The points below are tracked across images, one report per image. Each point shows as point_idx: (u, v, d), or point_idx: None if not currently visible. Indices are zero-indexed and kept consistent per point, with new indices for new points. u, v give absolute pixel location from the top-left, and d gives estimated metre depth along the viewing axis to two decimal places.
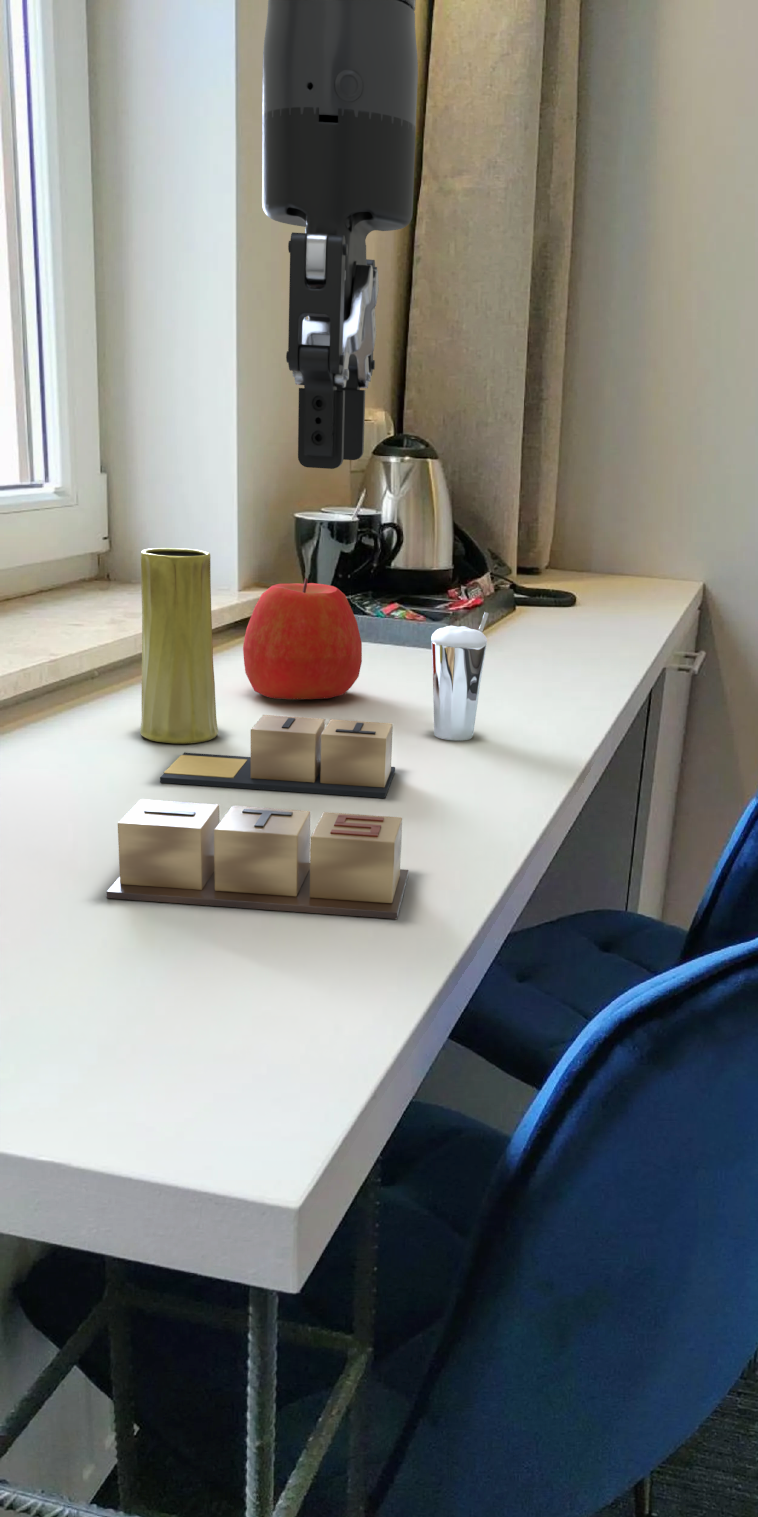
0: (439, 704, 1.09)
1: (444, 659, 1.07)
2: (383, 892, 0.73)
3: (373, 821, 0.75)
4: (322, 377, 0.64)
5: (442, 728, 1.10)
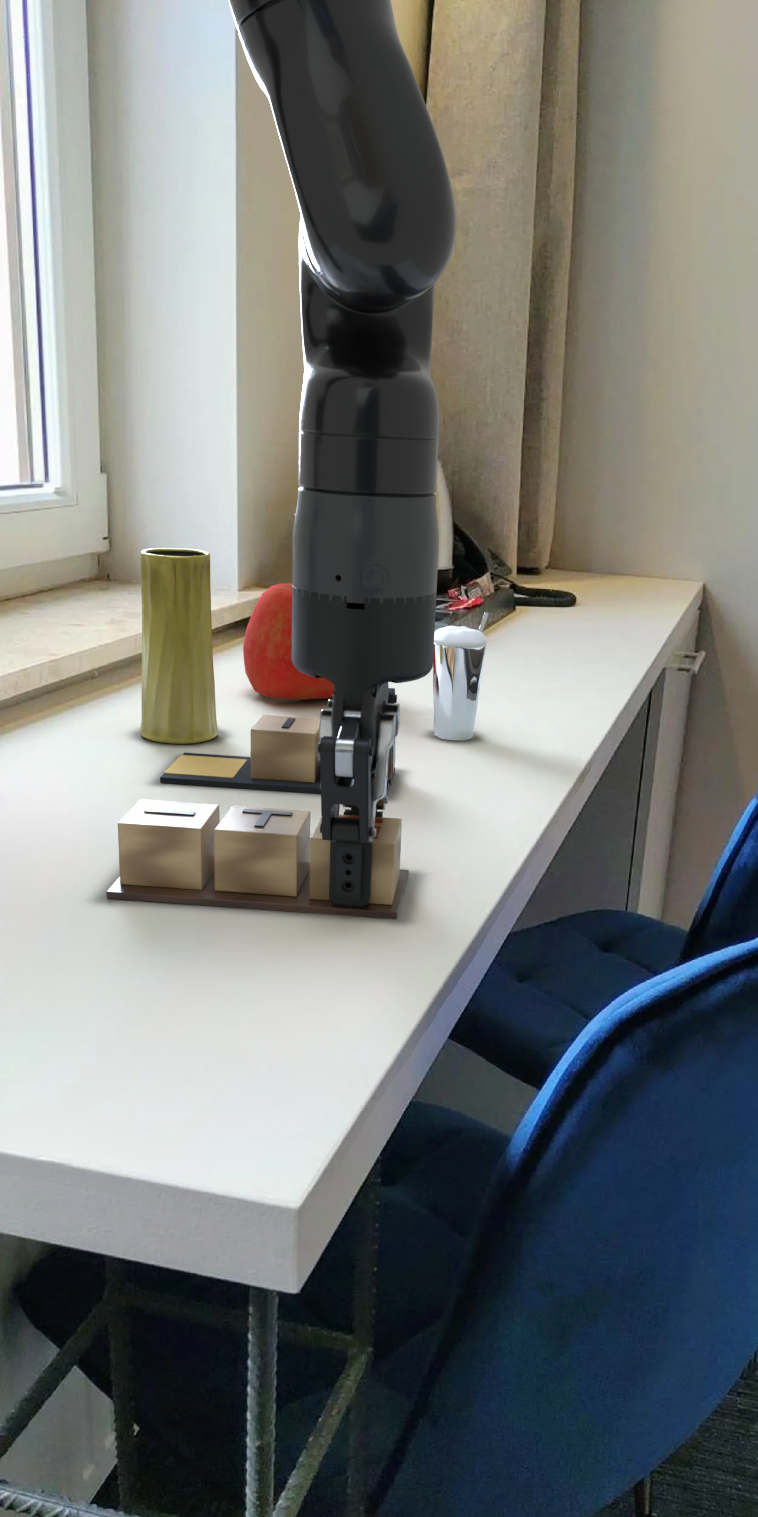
0: (439, 704, 1.09)
1: (444, 659, 1.07)
2: (383, 893, 0.73)
3: None
4: (352, 841, 0.70)
5: (442, 728, 1.10)
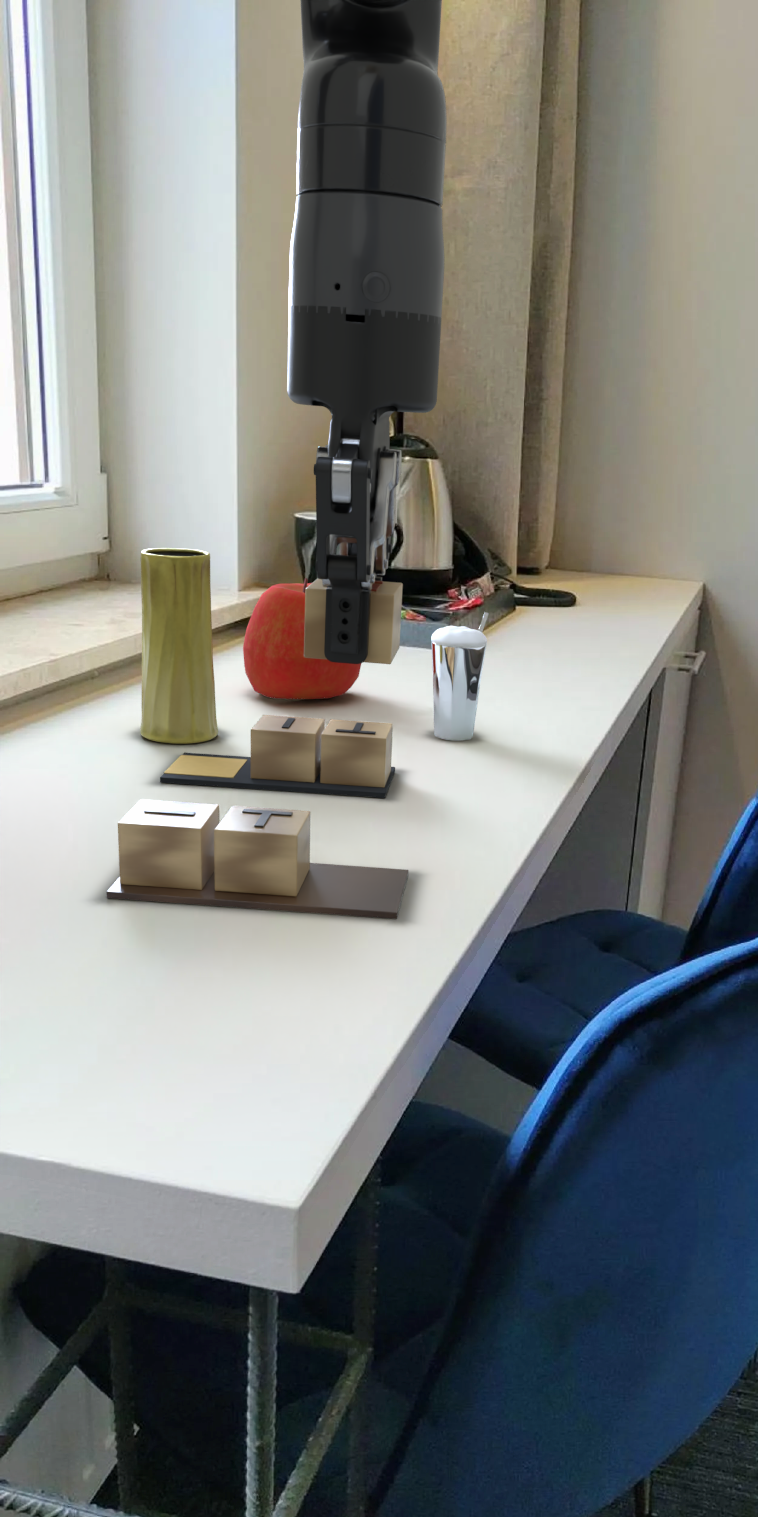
0: (439, 704, 1.09)
1: (444, 659, 1.07)
2: (381, 651, 0.69)
3: None
4: (349, 583, 0.66)
5: (442, 728, 1.10)
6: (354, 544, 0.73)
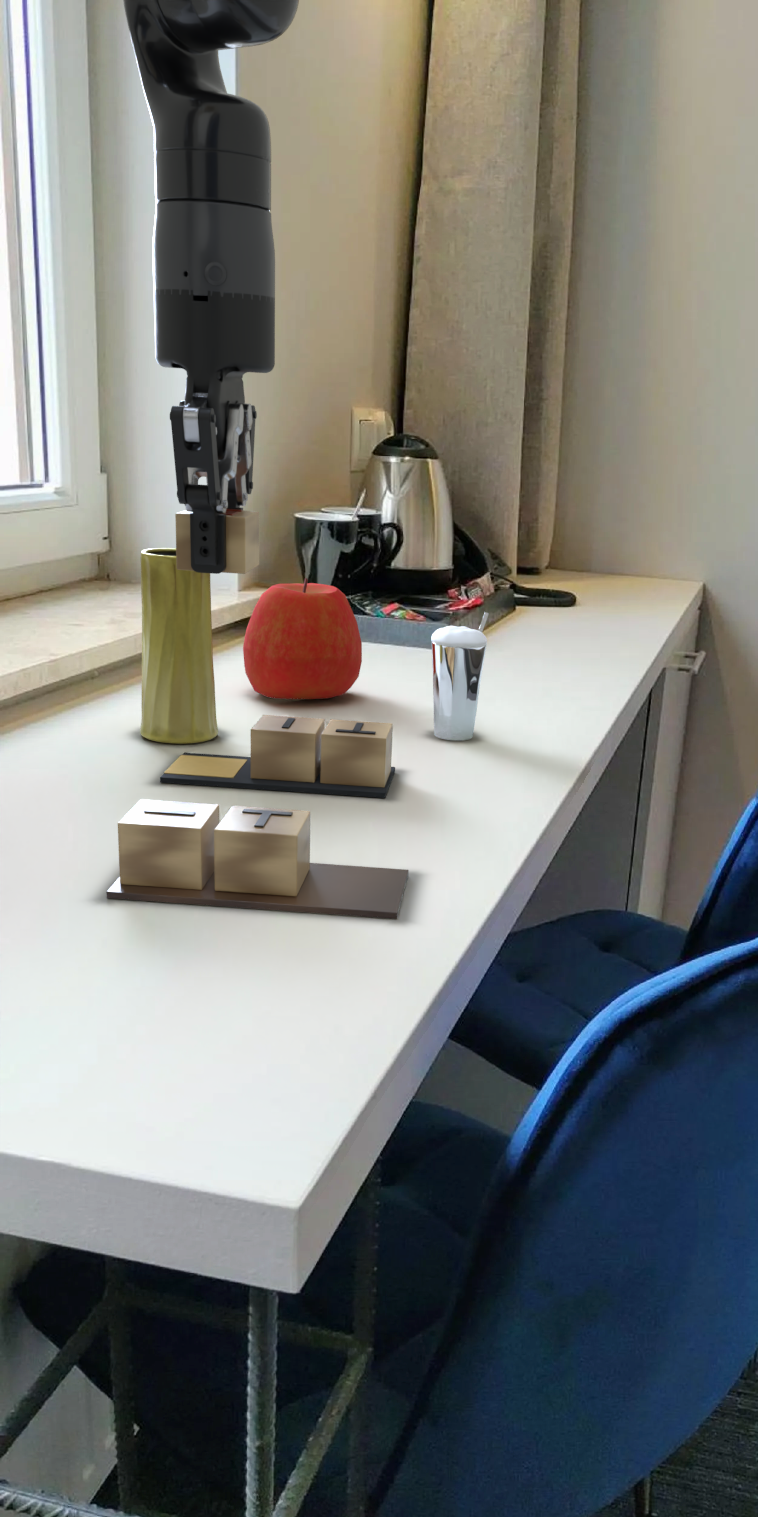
0: (439, 704, 1.09)
1: (444, 659, 1.07)
2: (237, 563, 0.87)
3: (232, 511, 0.89)
4: (205, 507, 0.84)
5: (442, 728, 1.10)
6: None
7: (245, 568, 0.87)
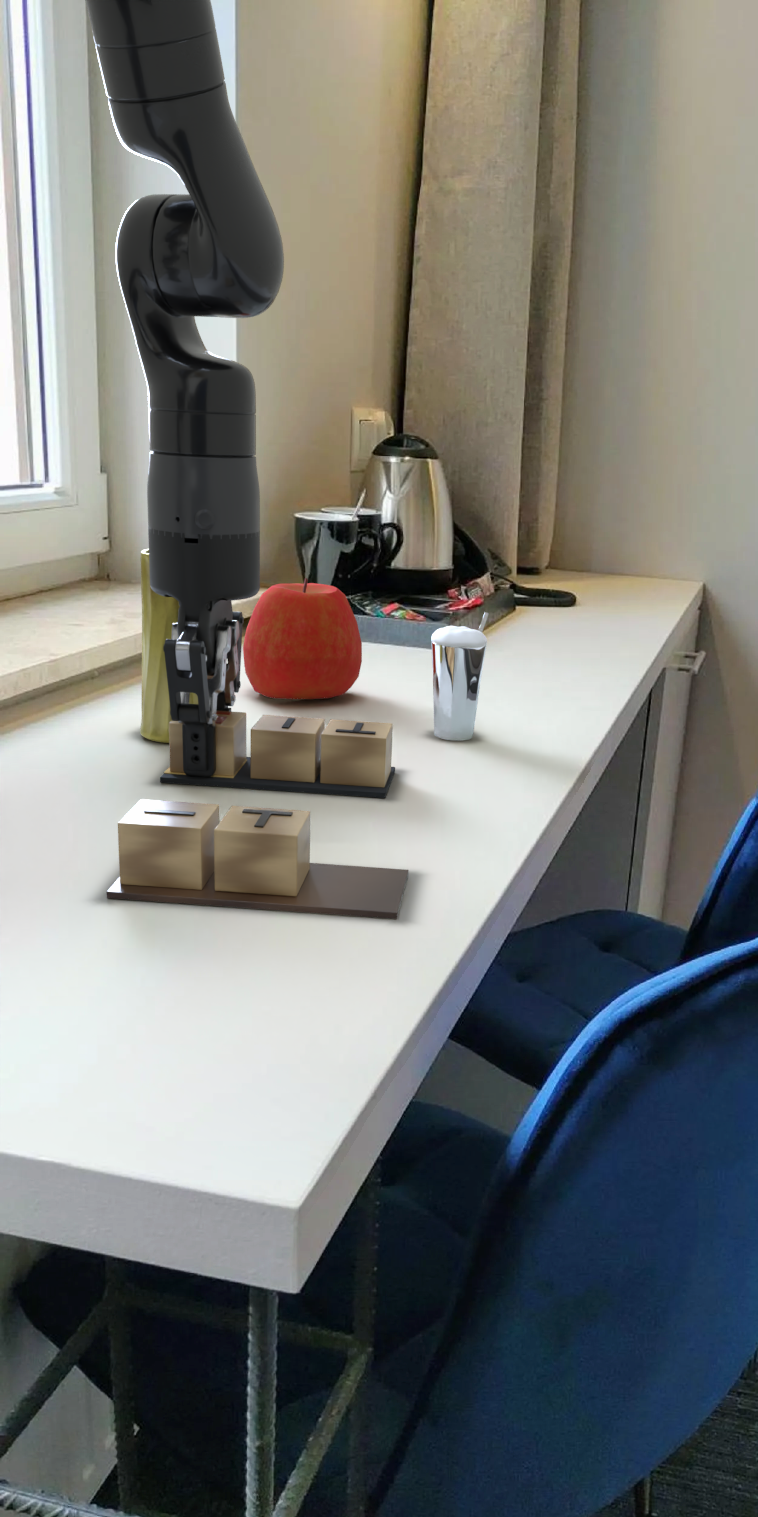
0: (439, 704, 1.09)
1: (444, 659, 1.07)
2: (226, 767, 0.95)
3: (222, 714, 0.97)
4: (196, 723, 0.91)
5: (442, 728, 1.10)
6: None
7: (233, 771, 0.95)
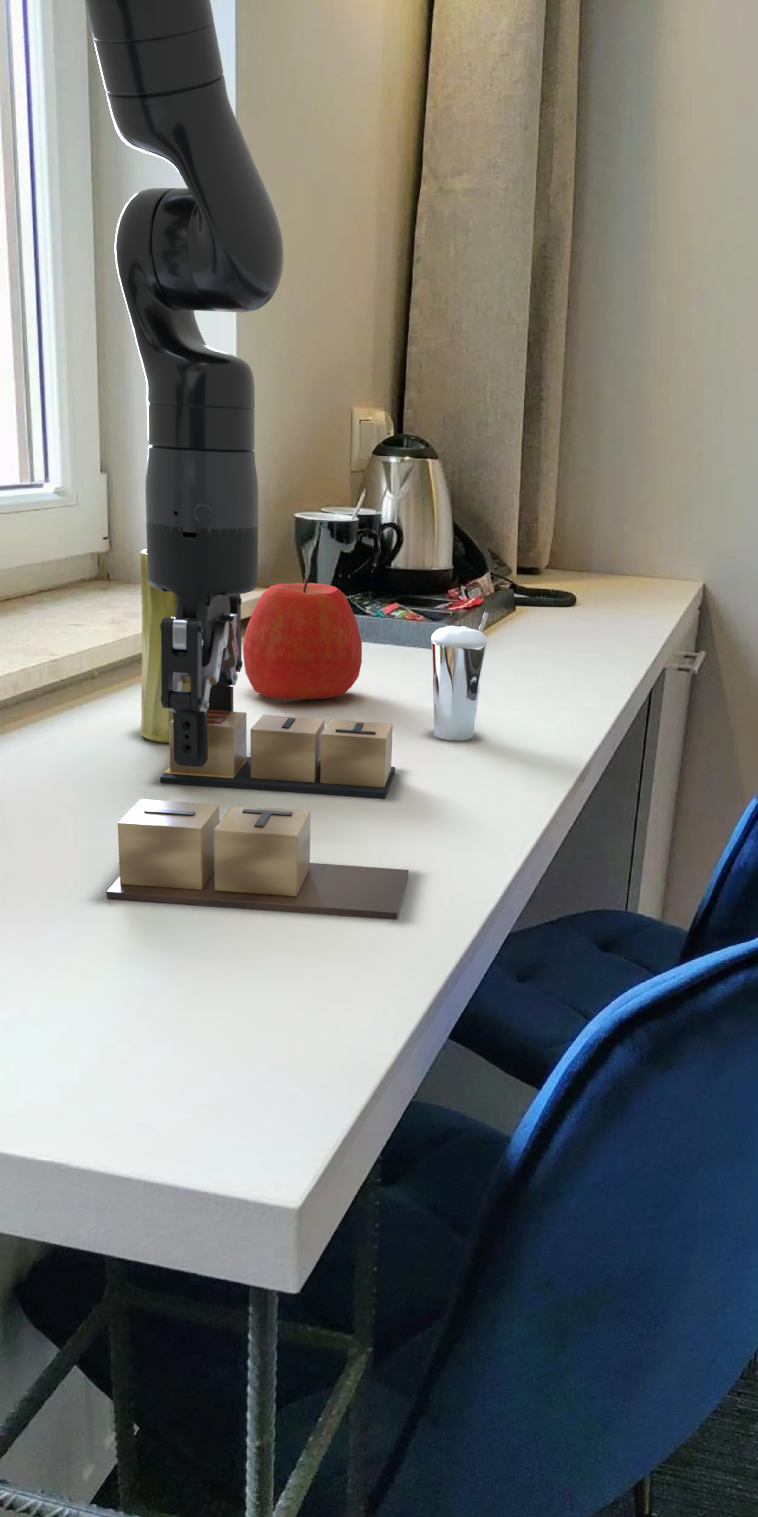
0: (439, 704, 1.09)
1: (444, 659, 1.07)
2: (226, 767, 0.95)
3: (222, 714, 0.97)
4: (187, 710, 0.89)
5: (442, 728, 1.10)
6: None
7: (233, 771, 0.95)
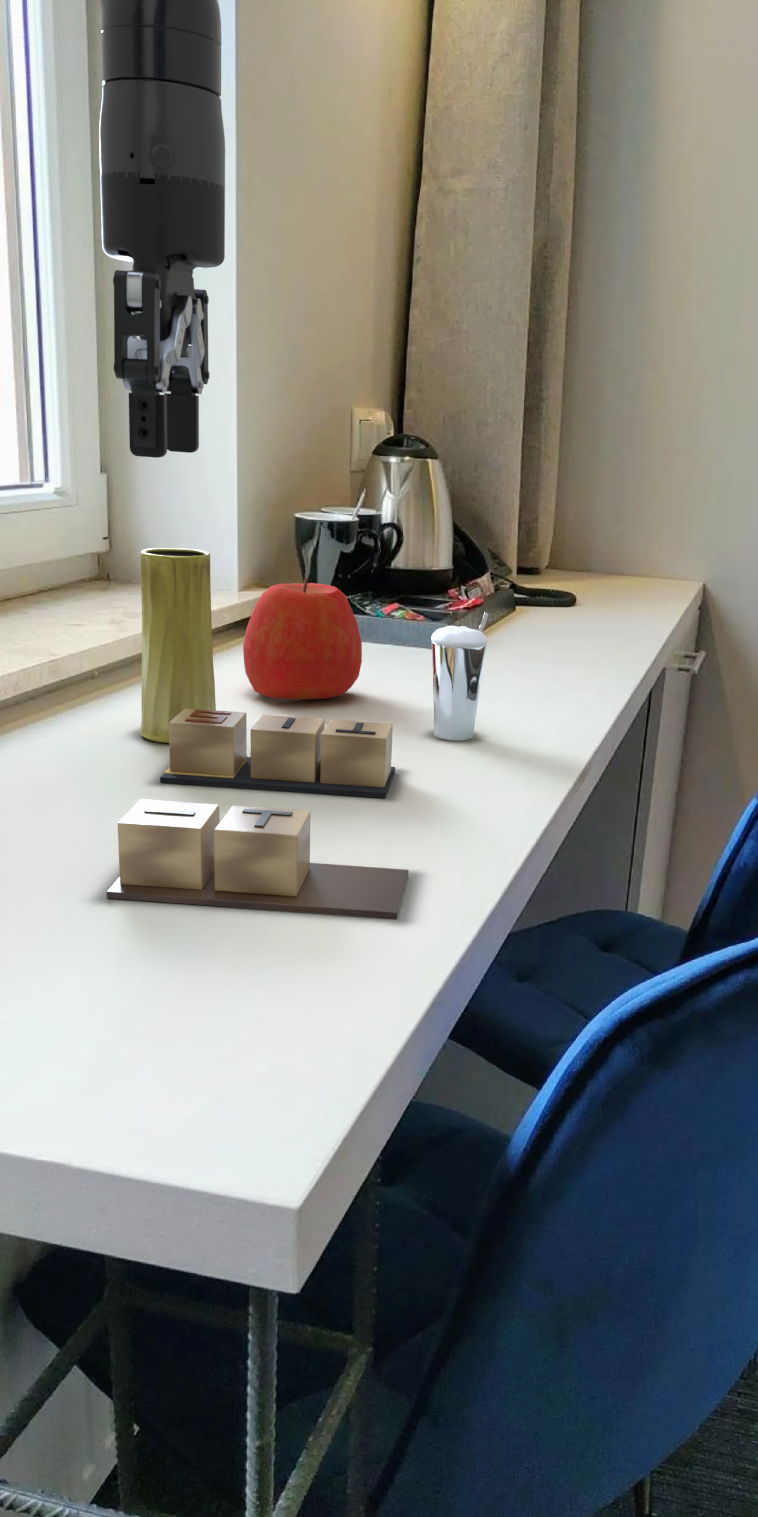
0: (439, 704, 1.09)
1: (444, 659, 1.07)
2: (226, 767, 0.95)
3: (222, 714, 0.97)
4: (144, 384, 0.80)
5: (442, 728, 1.10)
6: (176, 369, 0.91)
7: (233, 771, 0.95)
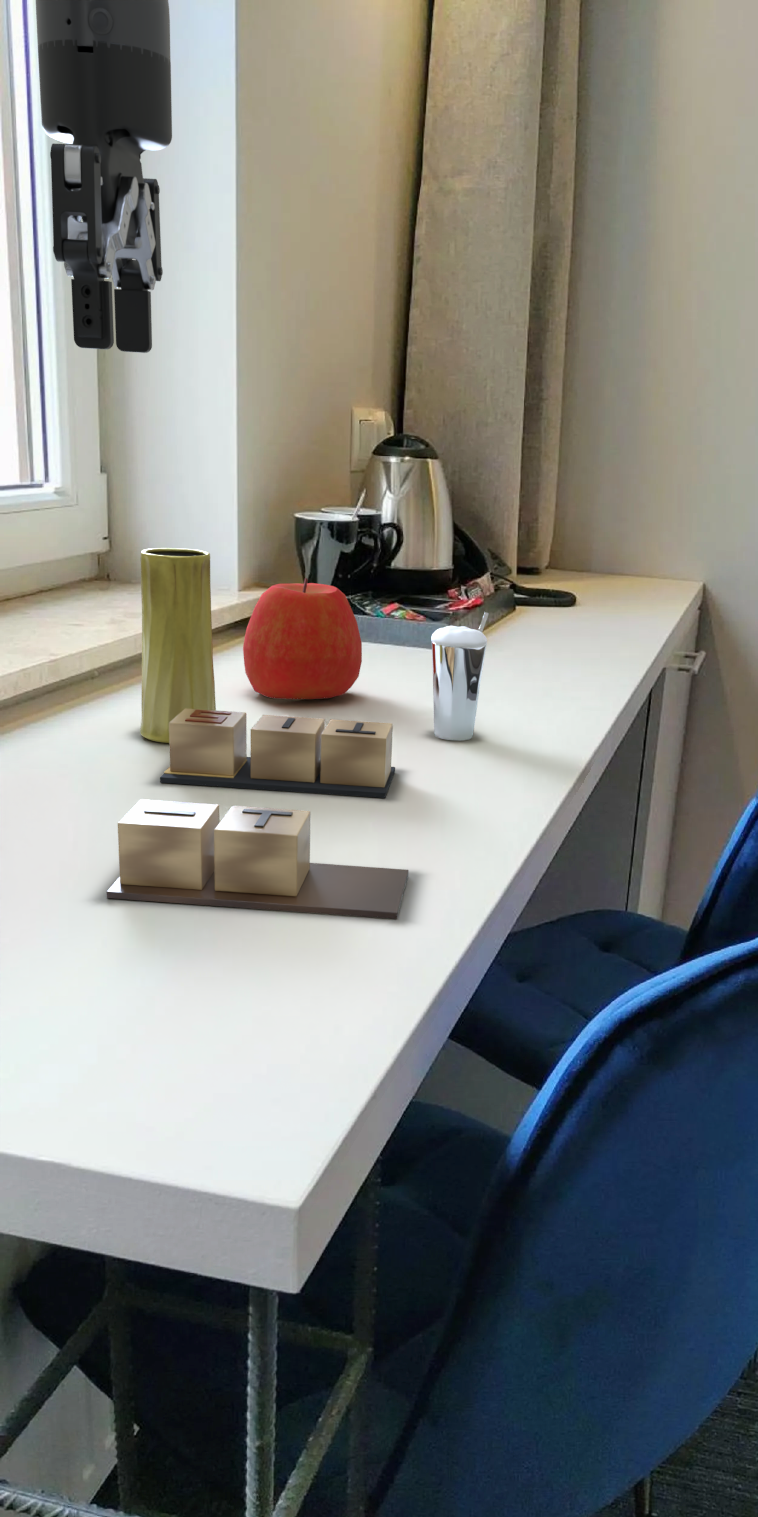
0: (439, 704, 1.09)
1: (444, 659, 1.07)
2: (226, 767, 0.95)
3: (222, 714, 0.97)
4: (86, 268, 0.76)
5: (442, 728, 1.10)
6: (127, 264, 0.86)
7: (233, 771, 0.95)
